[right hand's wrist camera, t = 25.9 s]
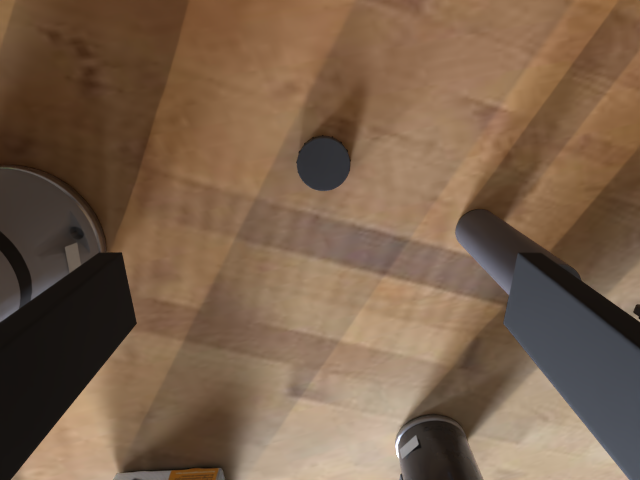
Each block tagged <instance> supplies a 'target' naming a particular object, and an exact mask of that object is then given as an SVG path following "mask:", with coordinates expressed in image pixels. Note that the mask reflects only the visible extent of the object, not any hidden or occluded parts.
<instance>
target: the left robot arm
mask: <svg viewBox="0 0 640 480" xmlns="http://www.w3.org/2000/svg"><path fill="white" fill-rule="evenodd" d="M633 312H634V313H635V314H636V315H637V316H639V319H640V305H639V304H638V305H636V307H635V309H634V311H633ZM395 447H396V451H397V455H398V457H399V462H400V466H401V471H402V474H400V480H484V479H483V477H482V475H481V472H480V470H479V468H478V465H477V463H476V461H475V458H474V456H473V453H472V451H471V449H470V446H469V444H468V442H467V438H466V435H465V433H464V430H463V428H462V427H461V426H460V425H459V424H458V423H457V422H456V421H455V420H453V419H451V418H448V417H445V416H440V415H427V416H422V417H419V418H416V419H414V420H412V421H410V422H408V423H407V424H406V425H404V426H403V427H402V428H401V430H400V431H399V432H398V434H397V436H396V440H395Z"/></svg>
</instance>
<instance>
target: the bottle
mask: <svg viewBox="0 0 640 480" xmlns="http://www.w3.org/2000/svg"><path fill="white" fill-rule="evenodd" d="M456 238H457V240H458V242H459V243H460V244H461V245H462V246H463V247H464V248H465V249H466V250H467V251H468V253H469V254H470V255H471V256H472V257H473V258H474V259H475V260H476V261H477V262H478V263H479V264H480V265H481V266H482V267H483V268H484V269H485V270H486V271H487V273H488V274H489V275H490V276H491V277H492V278H493V279H494V280H495V281H496V282H497V283H498V284H499V285H500V286H501V287H502V288H503V289H504V290H505V291H506V293H507V294H508V295H509V294H510V289H511V284H512V279H513V275H514V270H515V265H516V260H517V256H518V253H543V254H544V255H545V256H547V257H548V258H550V259H551V260H552V261H554V262H555V263H557V264H558V265H560V266H561V267H562V268H564V269H565V270H567V271H568V272H569V273H571V274H572V275H574V276H575V277H577V278H578V279H579V280H581V278H580V276H579V274H578V273H577V271H576V270H575V269H573V268H572V267H571V266H569V265H568V264H566V263H565V262H563V261H562V260H560V259H559V258H557V257H556V256H554V255H553V254H551V253H550V252H548V251H547V250H546V249H544V248H543V247H541V246H540V245H538V244H537V243H535V242H534V241H532V240H531V239H529V238H528V237H526V236H525V235H523V234H522V233H520V232H519V231H518V230H516V229H515V228H513V227H512V226H510V225H509V224H507V223H506V222H504V221H503V220H501V219H500V218H498V217H497V216H495V215H494V214H493V213H491V212H489V211H487V210H483V209H477V210H473V211H470V212H468V213H466V214H465V215H464V216H463V217H462V218H461V219H460V220H459V222H458V224H457V226H456Z"/></svg>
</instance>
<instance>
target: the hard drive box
mask: <svg viewBox="0 0 640 480" xmlns="http://www.w3.org/2000/svg"><path fill="white" fill-rule="evenodd" d="M113 480H225V478H224V474H223V470H222V468H209V469H203V468H192V469H187V470H170V471H137V472H128V473H117V474H116V475H115V477H114V479H113Z"/></svg>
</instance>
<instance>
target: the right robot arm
mask: <svg viewBox="0 0 640 480" xmlns="http://www.w3.org/2000/svg"><path fill="white" fill-rule="evenodd" d="M136 324H137V322H136V318H135V313H134V308H133V303H132V299H131V294H130V289H129V284H128V279H127V275H126V270H125V265H124V260H123V256H122V253H106V242H105V237H104V233H103V230H102V227H101V225H100V222H99V220H98V218H97V216H96V215H95V213H94V212H93V210H92V209H91V207H90V206H89V205H88V203H87V202H86V201H85V200H84V199H83V198H82V197H81V196H80V195H79V194H78V193H77V192H76V191H75V190H74V189H73V188H71V187H70V186H69V185H67V184H66V183H65V182H63V181H62V180H60V179H58V178H57V177H55V176H53V175H51V174H48V173H46V172H43V171H41V170H38V169H35V168H30V167H26V166H17V165H7V166H0V480H11V479H12V477H13V476H14V475H15V474H16V472H17V471H18V470H19V469H20V467H21V466H22V465H23V464H24V463H25V461H26V460H27V459H28V458H29V456H30V455H31V454H32V453H33V451H34V450H35V449H36V448H37V446H38V445H39V444H40V443H41V441H42V440H43V439H44V438H45V436H46V435H47V434H48V433H49V432H50V430H51V429H52V428H53V427H54V425H55V424H56V423H57V422H58V420H59V419H60V418H61V417H62V415H63V414H64V413H65V412H66V410H67V409H68V408H69V407H70V406H71V404H72V403H73V402H74V401H75V399H76V398H77V397H78V396H79V394H80V393H81V392H82V391H83V389H84V388H85V387H86V386H87V384H88V383H89V382H90V381H91V379H92V378H93V377H94V376H95V375H96V373H97V372H98V371H99V370H100V368H101V367H102V366H103V365H104V363H105V362H106V361H107V360H108V358H109V357H110V356H111V355H112V353H113V352H114V351H115V350H116V348H117V347H118V346H119V345H120V344H121V342H122V341H123V340H124V339H125V337H126V336H127V335H128V334H129V332H130V331H131V330H132V329H133V327H134V326H135V325H136ZM503 324H504V325H505V326H506V327H507V329H508V330H509V331H510V332H511V334H512V335H513V336H514V337H515V339H516V340H517V341H518V342H519V344H520V345H521V346H522V347H523V348H524V350H525V351H526V352H527V353H528V355H529V356H530V357H531V358H532V360H533V361H534V362H535V363H536V365H537V366H538V367H539V368H540V370H541V371H542V372H543V373H544V375H545V376H546V377H547V378H548V379H549V381H550V382H551V383H552V384H553V386H554V387H555V388H556V389H557V391H558V392H559V393H560V394H561V396H562V397H563V398H564V399H565V401H566V402H567V403H568V404H569V406H570V407H571V408H572V409H573V410H574V412H575V413H576V414H577V415H578V417H579V418H580V419H581V420H582V422H583V423H584V424H585V425H586V427H587V428H588V429H589V430H590V432H591V433H592V434H593V435H594V436H595V438H596V439H597V440H598V441H599V443H600V444H601V445H602V446H603V448H604V449H605V450H606V451H607V453H608V454H609V455H610V456H611V458H612V459H613V460H614V461H615V463H616V464H617V465H618V466H619V467H620V469H621V470H622V471H623V472H624V474H625V475H626V476H627V477H628V479H629V480H640V322H639V321H637V320H636V319H635V318H633V317H632V316H630V315H629V314H627V313H626V312H625V311H623V310H622V309H620V308H619V307H618V306H616V305H615V304H613V303H612V302H611V301H609V300H608V299H606V298H605V297H603V296H602V295H601V294H599V293H598V292H596V291H595V290H594V289H592V288H591V287H589V286H588V285H586V284H585V283H584V282H582V281H581V280H579V279H578V278H577V277H575V276H574V275H572V274H571V273H569V272H568V271H567V270H565V269H564V268H562V267H561V266H560V265H558V264H557V263H555V262H554V261H552V260H551V259H550V258H548V257H547V256H545V255H544V254H543V253H518V256H517V260H516V265H515V270H514V275H513V279H512V284H511V289H510V294H509V299H508V303H507V308H506V313H505V318H504V322H503Z"/></svg>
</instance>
